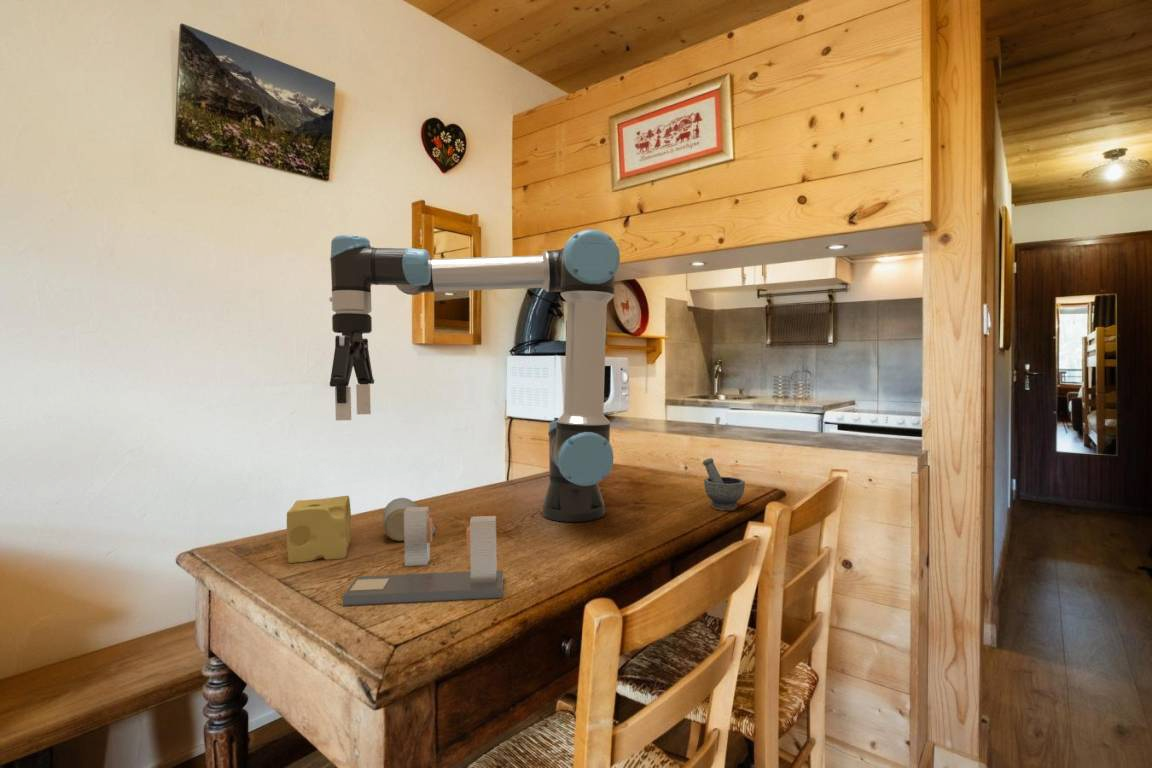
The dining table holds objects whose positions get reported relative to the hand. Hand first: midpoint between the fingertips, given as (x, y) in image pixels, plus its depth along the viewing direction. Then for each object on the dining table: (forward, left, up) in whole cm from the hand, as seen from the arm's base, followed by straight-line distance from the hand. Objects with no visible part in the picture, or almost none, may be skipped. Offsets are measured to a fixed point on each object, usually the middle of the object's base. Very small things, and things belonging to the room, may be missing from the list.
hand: (354, 417), depth 117 cm
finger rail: (-19, +28, -26) cm, 43 cm away
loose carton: (-15, +14, -26) cm, 33 cm away
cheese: (+5, +6, -26) cm, 27 cm away
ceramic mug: (-10, -3, -26) cm, 28 cm away
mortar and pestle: (-85, -18, -26) cm, 90 cm away
